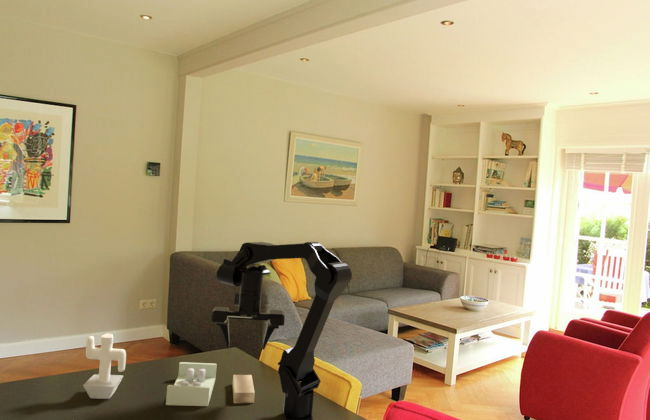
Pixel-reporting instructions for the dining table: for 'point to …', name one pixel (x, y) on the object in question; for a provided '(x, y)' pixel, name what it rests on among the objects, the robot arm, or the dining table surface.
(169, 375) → the dining table surface
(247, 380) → the beige tapered block
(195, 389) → the pale green pegged panel
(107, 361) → the figurine
